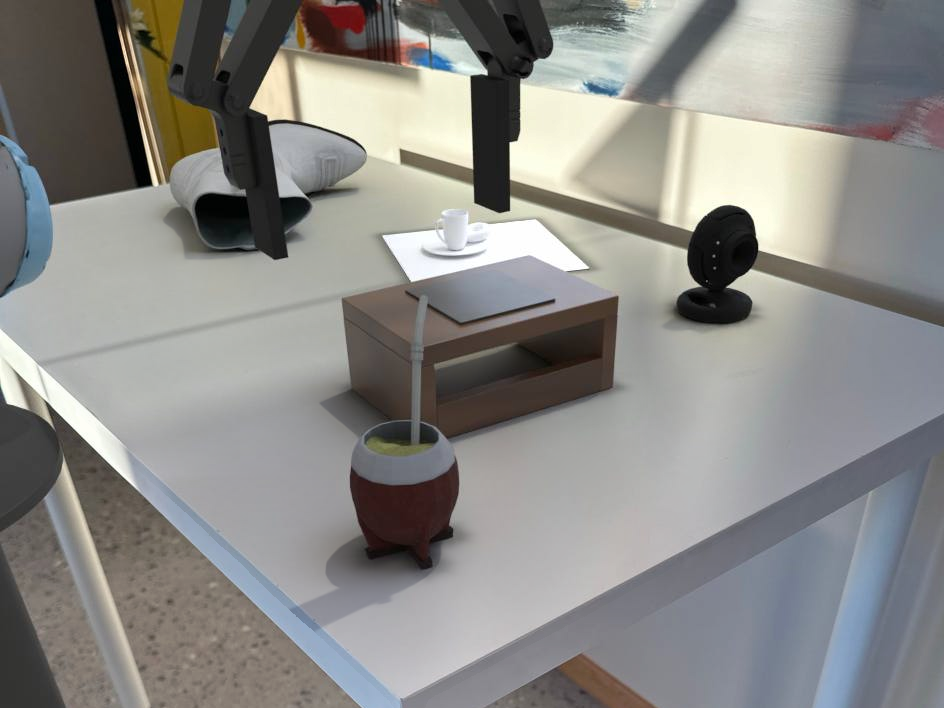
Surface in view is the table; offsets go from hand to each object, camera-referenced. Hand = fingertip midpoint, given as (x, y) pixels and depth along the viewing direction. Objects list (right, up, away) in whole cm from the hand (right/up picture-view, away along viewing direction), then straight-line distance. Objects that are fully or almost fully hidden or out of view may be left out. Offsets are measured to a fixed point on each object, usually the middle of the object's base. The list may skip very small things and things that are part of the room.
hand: (387, 229), depth 53 cm
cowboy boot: (-20, +33, +74) cm, 83 cm away
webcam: (+29, +11, +45) cm, 54 cm away
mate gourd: (0, -16, +13) cm, 21 cm away
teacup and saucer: (+5, +23, +61) cm, 66 cm away
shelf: (+5, 0, +32) cm, 32 cm away
